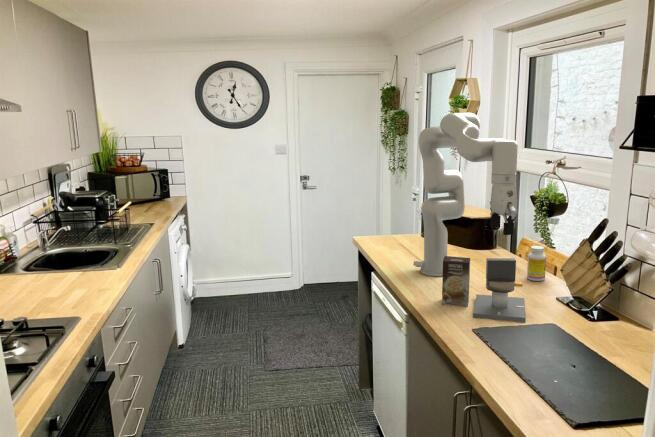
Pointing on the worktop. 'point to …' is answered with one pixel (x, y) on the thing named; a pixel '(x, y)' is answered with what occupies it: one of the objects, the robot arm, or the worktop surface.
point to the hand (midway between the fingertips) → (501, 231)
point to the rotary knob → (501, 275)
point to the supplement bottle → (536, 264)
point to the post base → (505, 312)
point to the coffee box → (456, 281)
